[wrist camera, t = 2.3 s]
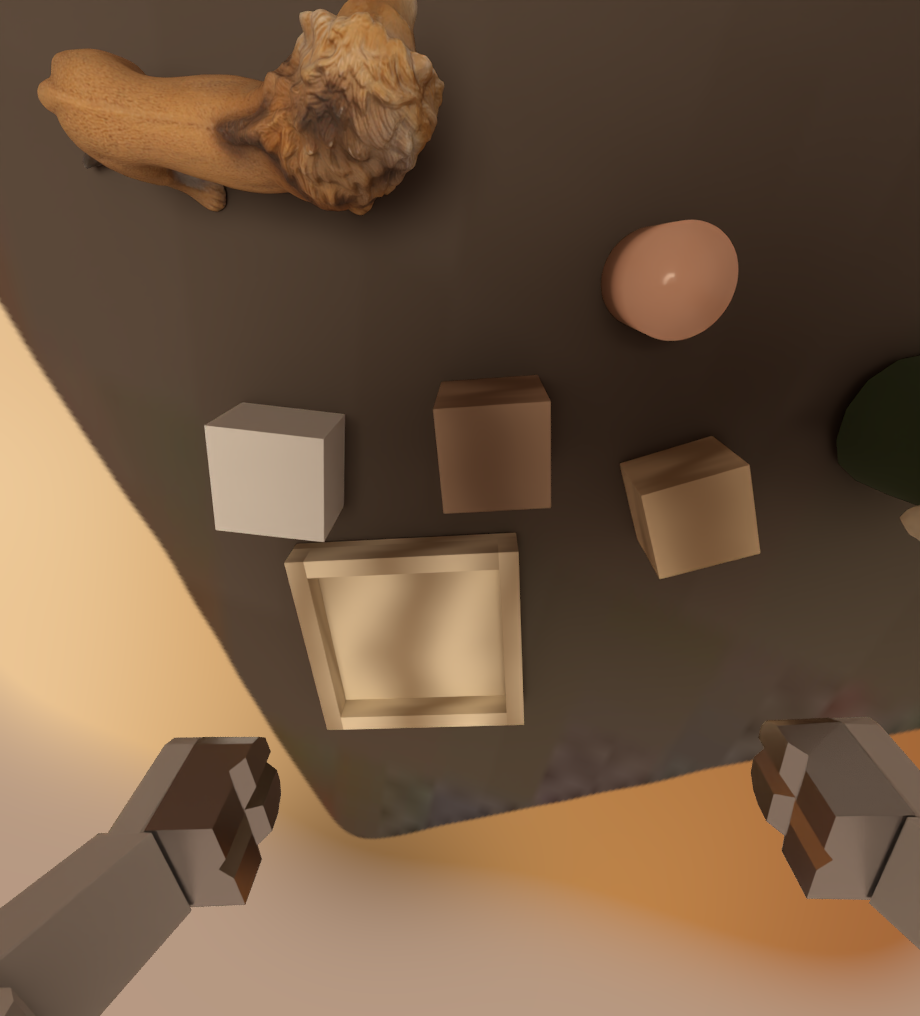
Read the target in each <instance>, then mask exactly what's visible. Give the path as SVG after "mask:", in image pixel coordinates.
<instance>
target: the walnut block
mask: <svg viewBox="0 0 920 1016" xmlns="http://www.w3.org/2000/svg"><path fill="white" fill-rule="evenodd" d="M433 414H434V424H435V434H436V443H437V453H438V463H439V473H440V483H441V493H442V503H443V512H444V514H448V513H466V512H485V511H503V510H521V509H539V508H551V401H550V399H549V397H548V395H547V393H546V391H545V389H544V387H543V385H542V383H541V381H540V379H539V377H538V375H527V376H513V377H499V378H485V379H471V380H457V381H443V382H441V385H440V388H439V391H438V394H437V398H436V401H435V404H434V408H433Z"/></svg>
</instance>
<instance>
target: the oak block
mask: <svg viewBox="0 0 920 1016" xmlns="http://www.w3.org/2000/svg"><path fill="white" fill-rule="evenodd" d="M620 468H621V473H622V477H623V481H624V485H625V490H626V494H627V498H628V502H629V507H630V511H631V515H632V520H633V524H634V528H635V532H636V537H637V540H638V541H639V543H640V545H641V547H642V549H643V550H644V552H645V554H646V556H647V557H648V559H649V561H650V563H651V565H652V566H653V568H654V570H655V572H656V574H657V575H658V577H659V579H663V578H667V577H671V576H675V575H678V574H682V573H686V572H690V571H694V570H698V569H702V568H706V567H709V566H713V565H717V564H721V563H725V562H729V561H733V560H737V559H740V558H744V557H748V556H752V555H756V554H760V546H759V538H758V530H757V522H756V513H755V505H754V497H753V489H752V481H751V473H750V465H749V464H748V463H747V462H745V461H744V460H743V459H741V458H740V457H739V456H738V455H736V454H735V453H734V452H732V451H731V450H730V449H728V448H727V447H726V446H725V445H723V444H722V443H721V442H719V441H718V440H717V439H716V438H714V437H713V436H710V437H706V438H703V439H700V440H696V441H693V442H690V443H686V444H683V445H680V446H676V447H673V448H670V449H666V450H663V451H660V452H656V453H653V454H650V455H646V456H643V457H640V458H636V459H633V460H630V461H626V462H623V463H620Z"/></svg>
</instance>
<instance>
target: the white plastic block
mask: <svg viewBox="0 0 920 1016" xmlns="http://www.w3.org/2000/svg"><path fill="white" fill-rule="evenodd" d="M204 426H205V436H206V445H207V454H208V463H209V472H210V482H211V491H212V500H213V509H214V518H215V528H216V530H220V531H229V532H238V533H247V534H256V535H265V536H274V537H283V538H292V539H300V540H309V541H318V542H324V541H325V540H326V538H327V536H328V534H329V532H330V531H331V529H332V527H333V525H334V523H335V521H336V520H337V518H338V516H339V514H340V512H341V510H342V509H343V507H344V459H345V414H340V413H331V412H322V411H314V410H305V409H296V408H288V407H279V406H271V405H262V404H253V403H245V402H242V403H240V404H239V405H237V406H235V407H234V408H232V409H230V410H229V411H227V412H226V413H224V414H222V415H221V416H219V417H217V418H216V419H214V420H212V421H211V422H209V423H207V424H206V425H204Z"/></svg>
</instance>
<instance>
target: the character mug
mask: <svg viewBox="0 0 920 1016" xmlns="http://www.w3.org/2000/svg"><path fill="white" fill-rule="evenodd" d="M837 455H838V463H839V464H840V465H841V466H842V467H843V468H844V469H845V470H846V471H847V472H848V473H849V474H850V475H851V476H852V477H853V478H854V479H855V480H856V481H859V482H861V483H863V484H865V485H868V486H870V487H872V488H874V489H876V490H879V491H881V492H883V493H885V494H888V495H891V496H893V497H896V498H899V499H902V500H904V501H907V502H910V503H912V504H915V505H917V506H915V507H912V508H910V509H907V510H906V511H905V512H904V513H903V514H902V515H901V516H900V517H899V518H900V520H901V522H902V524H903V525H904V527H905V529H906V530H907V532H908V533H909V534H910V535H911V536H913V537H915V538H916V539H918V540H919V541H920V356H916V357H911V358H906V359H901V360H898V361H896V362H895V363H893V364H892V365H890V366H889V367H887V368H886V369H884V370H883V371H881V372H880V373H878V374H877V375H875V376H874V377H872V378H871V379H869V380H868V381H867V382H866V384H865V385H864V386H863V388H862V389H861V390H860V392H859V393H858V394H857V396H856V397H855V398H854V400H853V401H852V402H851V404H850V405H849V406H848V408H847V409H846V412H845V415H844V418H843V421H842V424H841V427H840V430H839V433H838V436H837Z"/></svg>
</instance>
